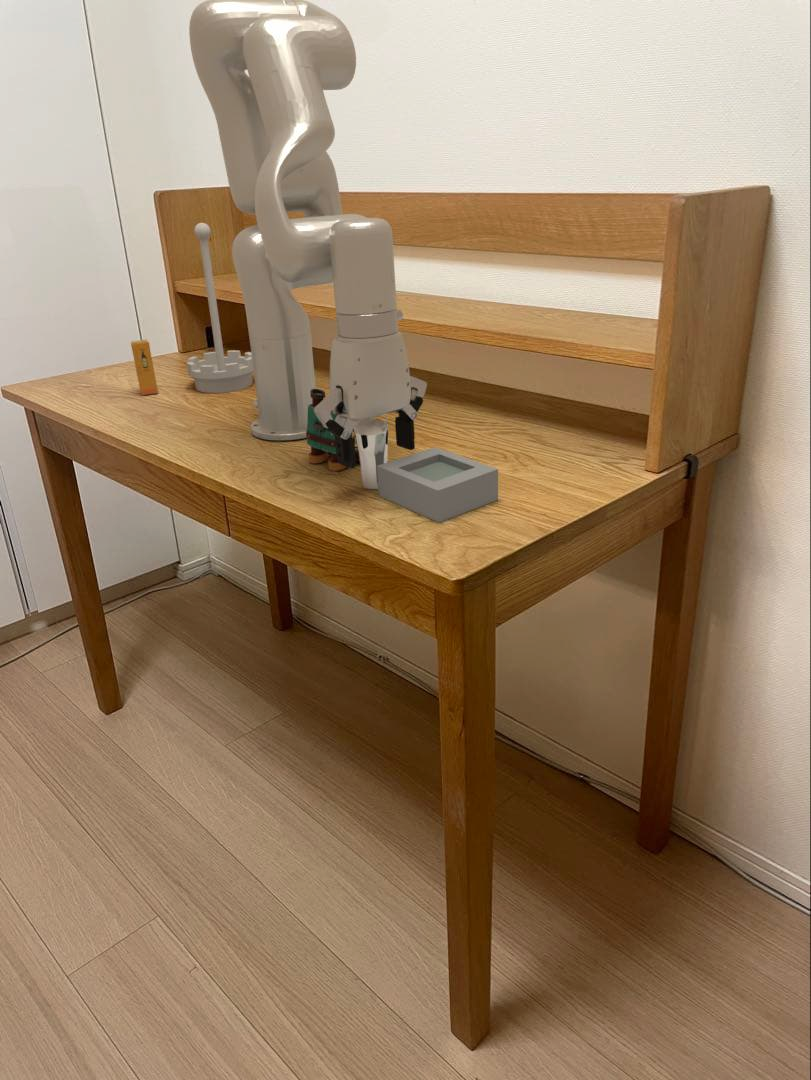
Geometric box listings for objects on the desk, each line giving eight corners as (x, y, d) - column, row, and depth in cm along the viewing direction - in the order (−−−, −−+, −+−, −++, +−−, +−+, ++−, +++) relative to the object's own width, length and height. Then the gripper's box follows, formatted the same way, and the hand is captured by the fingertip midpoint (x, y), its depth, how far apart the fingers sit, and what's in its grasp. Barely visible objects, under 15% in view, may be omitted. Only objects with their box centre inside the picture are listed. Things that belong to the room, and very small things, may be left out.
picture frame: (378, 495, 110) (376, 465, 109) (436, 475, 116) (435, 447, 114) (439, 522, 102) (438, 490, 100) (498, 499, 107) (498, 469, 106)
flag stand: (257, 391, 160) (237, 223, 147) (187, 396, 159) (160, 228, 146) (257, 374, 172) (238, 217, 159) (193, 379, 170) (168, 222, 158)
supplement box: (157, 389, 164) (148, 338, 160) (158, 394, 161) (149, 341, 157) (139, 391, 164) (130, 340, 159) (140, 396, 161) (130, 343, 156)
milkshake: (379, 495, 111) (375, 422, 106) (351, 486, 114) (345, 415, 110) (403, 484, 114) (399, 413, 109) (374, 476, 117) (369, 406, 113)
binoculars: (388, 391, 120) (334, 400, 114) (387, 462, 124) (334, 475, 118) (347, 381, 126) (294, 389, 120) (347, 449, 130) (295, 461, 123)
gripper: (402, 312, 112) (409, 435, 119) (291, 333, 102) (306, 466, 109) (440, 317, 106) (445, 446, 113) (326, 340, 97) (339, 480, 104)
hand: (377, 456), depth 111 cm, fingers open, 9 cm apart
